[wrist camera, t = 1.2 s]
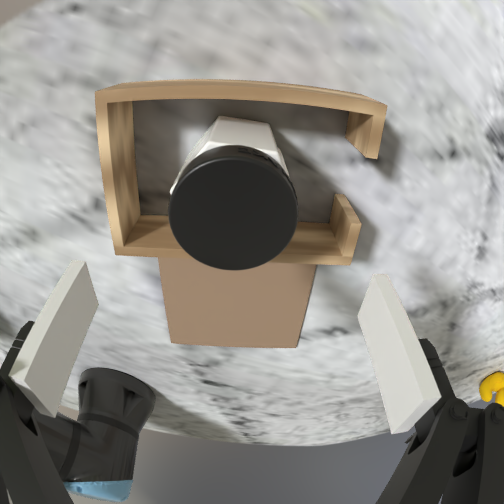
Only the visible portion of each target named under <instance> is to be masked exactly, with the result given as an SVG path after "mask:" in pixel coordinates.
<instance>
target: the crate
mask: <svg viewBox="0 0 504 504" xmlns="http://www.w3.org/2000/svg"><path fill="white" fill-rule="evenodd" d="M155 99H238V100H256V101H271V102H282V103H293V104H302V105H311V106H319V107H326V108H333V109H340V110H346V111H349V115H348V122H347V128H346V135H345V138H346V139H347V140H348V141H349V142H350V143H351V144H352V145H353V146H355V147H356V148H357V149H358V150H359V151H360V152H361V153H362V154H363V155H364V156H365V157H366V158H373V159H377V157H378V152H379V148H380V143H381V138H382V132H383V127H384V122H385V116H386V110H387V105H385V104H383V103H381V102H378V101H376V100H374V99H371V98H369V97H367V96H364V95H362V94H356V93H351V92H345V91H339V90H333V89H326V88H319V87H312V86H304V85H295V84H286V83H275V82H262V81H246V80H217V79H186V80H158V81H142V82H129V83H121V84H118V85H114V86H111V87H108V88H105V89H102V90H99V91H96V92H95V105H96V121H97V133H98V144H99V154H100V163H101V171H102V179H103V186H104V193H105V200H106V206H107V212H108V218H109V224H110V229H111V235H112V240H113V245H114V250H115V255H123V256H143V257H163V258H184V259H194V258H193V257H191V256H190V255H189V254H188V253H186V252H185V251H184V250H183V249H182V247H181V246H180V245H179V244H178V242H177V241H176V239H175V237H174V235H173V233H172V231H171V228H170V224H169V218H168V216H161V215H141V212H140V204H139V194H138V184H137V173H136V160H135V146H134V129H133V103H132V101H137V100H155ZM361 225H362V224H361V222H360V220H359V218H358V217H357V215H356V213H355V212H354V210H353V208H352V207H351V205H350V203H349V202H348V200H347V198H346V197H345V195H343V194H335V196H334V201H333V206H332V211H331V216H330V221H329V223H315V222H299V221H298V222H297V227H296V230H295V233H294V235H293V237H292V239H291V241H290V242H289V244H288V245H287V247H286V248H285V249H284V250H283V251H282V252H281V253H280V254H279V255H278V256H276V257H275V258H274V259H272V260H271V261H269V262H275V263H300V264H326V265H350V264H351V261H352V257H353V254H354V250H355V247H356V243H357V240H358V236H359V232H360V229H361Z"/></svg>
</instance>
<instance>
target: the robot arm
mask: <svg viewBox="0 0 504 504" xmlns="http://www.w3.org/2000/svg"><path fill="white" fill-rule="evenodd" d="M98 305H99V303H98V300H97V297H96V294H95V291H94V288H93V285H92V281H91V278H90V275H89V271H88V268H87V264H86V261H75V260H72V261H71V263H70V264H69V266H68V267H67V269H66V270H65V272H64V274H63V275H62V277H61V278H60V280H59V282H58V283H57V285H56V287H55V288H54V290H53V292H52V293H51V295H50V297H49V298H48V300H47V302H46V303H45V305H44V307H43V309H42V311H41V312H40V314H39V316H38V318H37V319H36V321H35V322H33V321H28V322H27V323H26V324H25V325H24V326H23V327H22V328H21V330H20V331H19V333H18V335H17V337H16V340H15V341H14V343H13V344H12V348H10V350H9V352H8V354H7V356H6V358H5V360H4V362H3V364H2V366H1V369H0V504H74V503H73V501H72V499H71V498H70V496H69V494H68V492H69V493H72V494H76V495H80V496H83V497H88V498H92V499H97V500H103V501H110V502H123V501H125V500H127V499H128V497H129V494H130V490H131V485H132V483H133V480H132V479H133V471H134V465H135V458H136V451H137V445H138V439H139V433H140V431H141V430H142V428H143V426H144V425H145V423H146V421H147V420H148V418H149V416H150V415H151V413H152V411H153V408H154V403H155V396H154V394H153V392H152V391H151V389H150V388H149V387H147V386H146V385H145V384H144V383H142V382H141V381H139V380H137V379H136V378H134V377H132V376H129V375H127V374H124V373H122V372H119V371H115V370H111V369H105V368H91V369H88V370H85V371H84V372H83V373H82V375H81V378H80V381H79V385H78V394H79V415H78V419H77V421H75V420H73V419H71V418H69V417H67V416H65V415H63V414H61V413H60V412H58V408H59V405H60V402H61V399H62V396H63V393H64V390H65V387H66V385H67V382H68V379H69V376H70V374H71V371H72V368H73V366H74V363H75V360H76V358H77V355H78V353H79V350H80V348H81V345H82V343H83V340H84V338H85V336H86V333H87V331H88V328H89V326H90V324H91V321H92V319H93V317H94V314H95V312H96V310H97V308H98ZM357 317H358V320H359V323H360V326H361V329H362V333H363V336H364V339H365V342H366V345H367V348H368V352H369V355H370V358H371V362H372V365H373V368H374V372H375V375H376V379H377V382H378V386H379V389H380V393H381V396H382V400H383V404H384V407H385V411H386V415H387V419H388V423H389V427H390V431H391V434H396V433H401V432H407V431H409V430H410V429H411V427H413V426H414V425H415V428H416V432H415V433H414V434H413V435H412V436H411V437H409V438H408V439H407V441H406V442H405V443H408V442H410V443H409V445H408V447H407V449H406V451H405V453H404V455H403V457H402V459H401V461H400V463H399V464H398V466H397V468H396V470H395V472H394V474H393V475H392V477H391V479H390V481H389V482H388V484H387V486H386V487H385V489H384V491H383V493H382V494H381V496H380V498H379V499H378V501H377V502H376V504H438V503H439V501H440V498H441V496H442V494H443V496H442V501H441V504H504V407H503V406H502V405H501V404H499V403H491V404H490V405H488V406H487V407H486V408H485V409H478V408H470V407H468V405H467V404H466V403H465V402H464V401H463V400H461V399H458V398H456V397H455V395H454V392H453V390H452V387H451V385H450V382H449V380H448V377H447V375H446V373H445V370H444V368H443V367H442V363H441V361H440V359H439V356H438V354H437V352H436V350H435V347H434V346H433V345H432V344H431V343H430V342H429V341H428V340H427V339H418V338H417V336H416V333H415V331H414V329H413V327H412V324H411V322H410V320H409V318H408V316H407V313H406V311H405V309H404V307H403V305H402V303H401V301H400V299H399V297H398V295H397V292H396V290H395V288H394V286H393V284H392V282H391V280H390V278H389V276H388V274H373V275H372V278H371V281H370V284H369V287H368V289H367V292H366V295H365V297H364V300H363V303H362V305H361V308H360V310H359V313H358V316H357Z"/></svg>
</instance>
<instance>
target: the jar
mask: <svg viewBox="0 0 504 504" xmlns="http://www.w3.org/2000/svg"><path fill="white" fill-rule="evenodd" d="M170 194H171V197H170V201H169V207H168V218H169V224H170V228H171V231H172V233H173V235H174V237H175V239H176V241H177V242H178V244H179V245H180V246H181V247H182V249H183V250H184V251H185V252H186V253H188V254H189V255H190V256H191V257H193V258H194V259H196V260H197V261H199V262H201V263H203V264H205V265H207V266H210V267H213V268H217V269H222V270H231V271H238V270H246V269H251V268H255V267H258V266H261V265H263V264H265V263H267V262H269V261H271V260H272V259H274V258H275V257H276V256H278V255H279V254H280V253H281V252H282V251H283V250H284V249H285V248H286V247H287V245H288V244H289V242H290V241H291V239H292V237H293V235H294V233H295V230H296V227H297V222H298V204H297V197H296V194H295V190H294V187H293V184H292V182H291V181H290V178H289V173H288V170H287V168H286V165H285V162H284V159H283V156H282V153H281V150H280V148H278V146H277V144H276V141H275V138H274V135H273V132H272V130H271V127H270V125H269V124H268V123H264V122H258V121H252V120H246V119H240V118H233V117H226V116H219V117H218V118H217V119H216V120H215V121H214V122H213V124H212V125H211V126H210V127H209V129H208V130H207V131H206V132H205V134H204V135H203V136H202V137H201V139H200V140H199V141H198V142H197V144H196V145H195V146H194V147H193V149H192V150H191V151H190V153H189V155H188V157H187V159H186V160H185V162H184V164H183V166H182V168H181V170H180V172H179V174H178V176H177V178H176V180H175V182H174V183H173V185H172V187H171V189H170Z"/></svg>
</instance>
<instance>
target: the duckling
mask: <svg viewBox="0 0 504 504" xmlns="http://www.w3.org/2000/svg"><path fill="white" fill-rule="evenodd" d="M492 391H494V392H497V394H496V398H495V403H499V404H501V405H502V406H503V407H504V373H501V372H496V373H494V374H492V375H490V376H488V377H487V378H486V379H485V380H484V381H483V382H482V383H481V385H480V388H479V392H480V395H481V398H482V399H483V400H484V401H486V402H489V401H490V400H491V399H492Z"/></svg>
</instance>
